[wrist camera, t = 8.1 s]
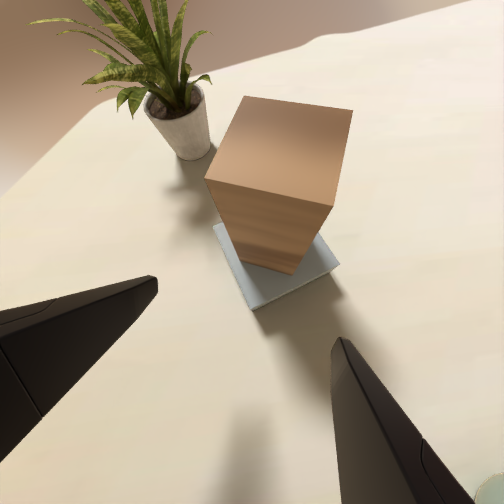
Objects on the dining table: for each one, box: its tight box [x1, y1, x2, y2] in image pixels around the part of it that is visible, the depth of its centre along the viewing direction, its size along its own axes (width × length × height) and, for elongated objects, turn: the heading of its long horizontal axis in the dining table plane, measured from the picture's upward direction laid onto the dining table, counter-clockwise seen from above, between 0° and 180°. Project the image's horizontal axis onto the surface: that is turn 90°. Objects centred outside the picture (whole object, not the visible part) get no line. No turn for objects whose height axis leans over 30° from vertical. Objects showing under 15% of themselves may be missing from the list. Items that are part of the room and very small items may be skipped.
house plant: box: [27, 0, 212, 160], centre depth 20 cm, size 14×14×16 cm
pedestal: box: [212, 222, 340, 311], centre depth 20 cm, size 9×9×3 cm
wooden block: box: [204, 96, 353, 276], centre depth 13 cm, size 5×5×11 cm
